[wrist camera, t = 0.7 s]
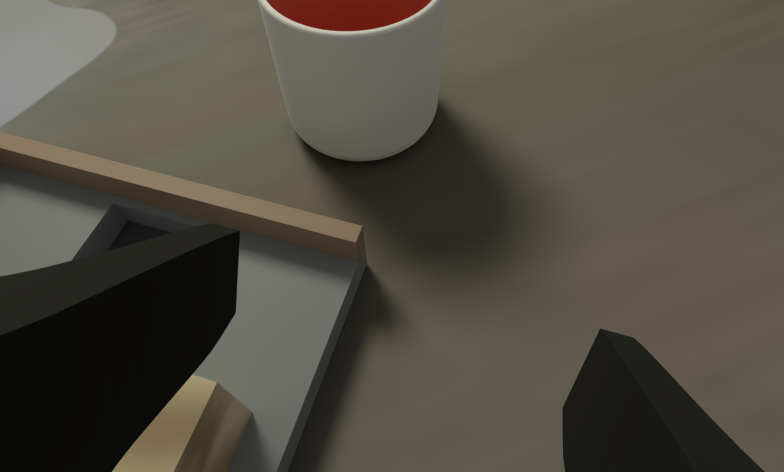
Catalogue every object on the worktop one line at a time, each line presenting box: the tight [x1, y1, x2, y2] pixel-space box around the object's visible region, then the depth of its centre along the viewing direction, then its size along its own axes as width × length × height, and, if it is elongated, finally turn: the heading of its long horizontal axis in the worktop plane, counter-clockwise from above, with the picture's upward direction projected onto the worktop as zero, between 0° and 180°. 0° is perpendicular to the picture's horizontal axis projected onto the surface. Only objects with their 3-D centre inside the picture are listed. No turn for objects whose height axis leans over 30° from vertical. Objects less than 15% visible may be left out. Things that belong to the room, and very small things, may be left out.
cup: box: [258, 0, 447, 161], centre depth 30 cm, size 10×10×10 cm
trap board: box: [0, 132, 367, 472], centre depth 22 cm, size 24×24×5 cm
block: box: [112, 374, 252, 472], centre depth 19 cm, size 5×5×5 cm
